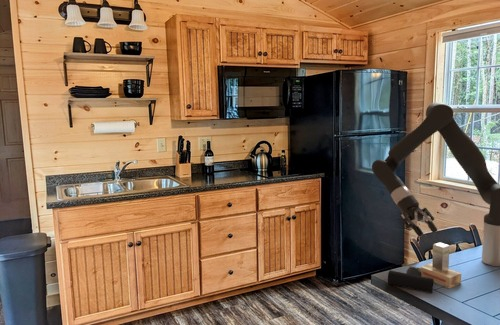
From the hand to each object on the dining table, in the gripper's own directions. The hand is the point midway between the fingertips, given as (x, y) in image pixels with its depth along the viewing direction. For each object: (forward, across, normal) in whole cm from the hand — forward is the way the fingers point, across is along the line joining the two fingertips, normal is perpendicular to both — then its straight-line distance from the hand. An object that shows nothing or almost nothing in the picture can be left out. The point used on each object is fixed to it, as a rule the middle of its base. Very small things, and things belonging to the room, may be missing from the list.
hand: (428, 233), depth 148 cm
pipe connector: (+14, -11, +11) cm, 21 cm away
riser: (+16, 0, +8) cm, 18 cm away
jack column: (+13, 0, +5) cm, 14 cm away
